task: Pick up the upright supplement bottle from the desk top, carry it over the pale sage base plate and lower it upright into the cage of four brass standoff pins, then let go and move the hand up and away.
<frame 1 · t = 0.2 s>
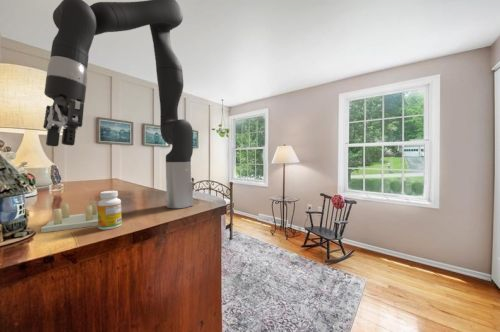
hand: (59, 145, 51), 22 cm above the table, tool pointing down, fingers open, 8 cm apart
supplement bottle: (110, 227, 58), on the table
standoff chassis: (77, 222, 61), on the table
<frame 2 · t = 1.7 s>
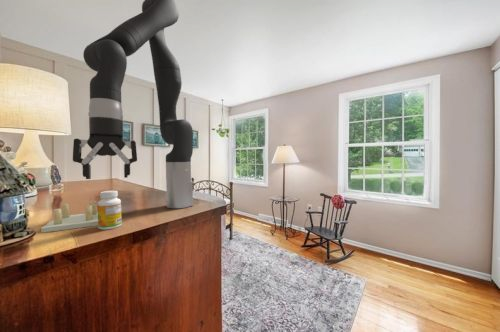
hand: (107, 178, 57), 13 cm above the table, tool pointing down, fingers open, 8 cm apart
nothing on the table moved.
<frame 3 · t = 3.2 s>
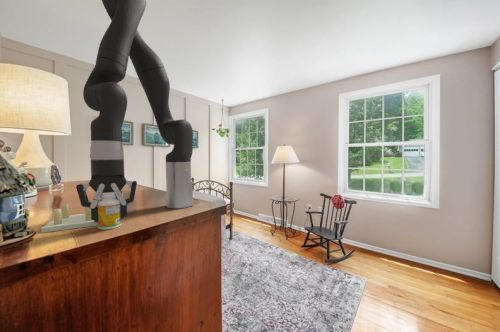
hand: (109, 219, 58), 2 cm above the table, tool pointing down, fingers closed on supplement bottle, 5 cm apart
supplement bottle: (110, 227, 58), on the table, touching gripper
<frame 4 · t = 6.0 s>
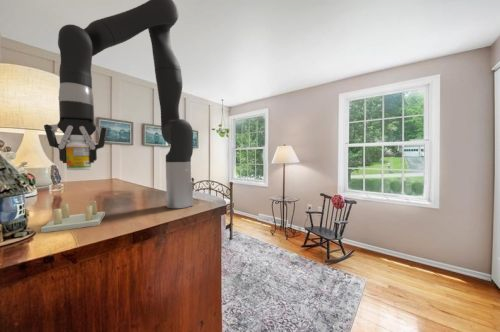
hand: (78, 162, 60), 18 cm above the table, tool pointing down, fingers closed on supplement bottle, 5 cm apart
supplement bottle: (79, 170, 60), point 15 cm above the table, touching gripper
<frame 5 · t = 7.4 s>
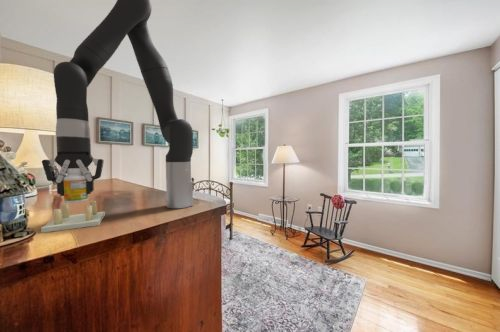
hand: (76, 194, 61), 8 cm above the table, tool pointing down, fingers closed on supplement bottle, 5 cm apart
supplement bottle: (76, 201, 61), point 6 cm above the table, touching gripper
when the fingers open (5 cm above the table, at t = 8.6 s): supplement bottle drops 1 cm, resting on standoff chassis.
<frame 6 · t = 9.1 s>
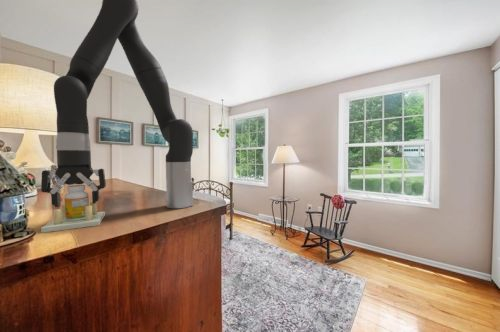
hand: (76, 204, 61), 5 cm above the table, tool pointing down, fingers open, 8 cm apart
supplement bottle: (77, 219, 61), point 1 cm above the table, touching standoff chassis
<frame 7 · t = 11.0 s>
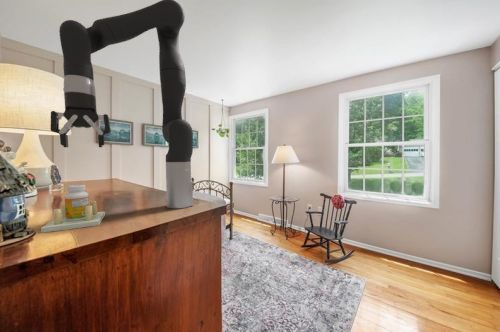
hand: (83, 147, 65), 22 cm above the table, tool pointing down, fingers open, 8 cm apart
nothing on the table moved.
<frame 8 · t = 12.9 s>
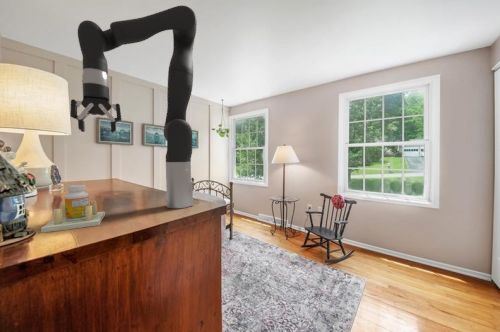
hand: (98, 132, 74), 28 cm above the table, tool pointing down, fingers open, 8 cm apart
nothing on the table moved.
at the end: supplement bottle 0.2 cm off-centre on the standoff chassis, point 1.0 cm above the standoff chassis's base; supplement bottle tilted 0°; the gripper is holding nothing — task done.
